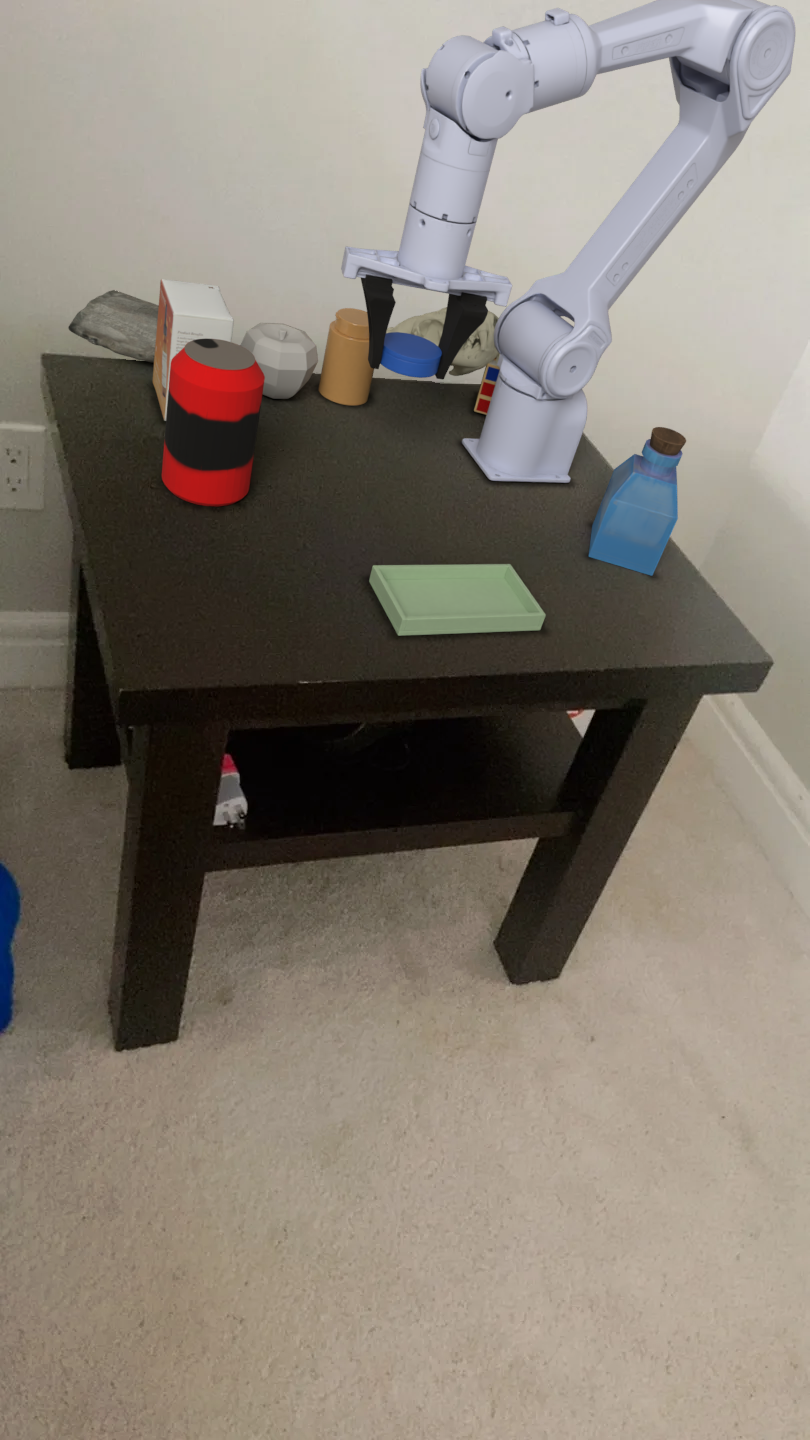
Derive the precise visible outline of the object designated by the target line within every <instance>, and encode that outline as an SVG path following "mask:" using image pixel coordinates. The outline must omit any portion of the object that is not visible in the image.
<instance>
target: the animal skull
mask: <svg viewBox="0 0 810 1440" xmlns="http://www.w3.org/2000/svg"><path fill="white" fill-rule="evenodd" d="M446 310H447V306H446V307H443V308H440V309H439V310H436V311H431V312H427V313H423V314H421V315H414V316H411V317H408V318H406V319H404V320H402V321H401V322H398V323H397V324H396V325H395V326H390V327H388V328H387V331H386V333H391V332H401V333H408V334H413V335H416V336H420V337H422V338H425V339H427V340H429V341H431V342H433V343H434V344H436V345H437V346H438V345H439V342H440V338H441V335H442V331H443V327H444V322H445V316H446ZM498 319H499V316H497V315H496V314H495V313H494V312H492V311H490V310H488V313H487V316H486V319H485V321H484V322H483V323H482V324H481V325H480V326H479V327H478V328H477V329H476V330H475V331H474V332H473V334H472V335H471V336H470V337H469V338H468V339H467V341H466V342H465V343H464V345H463V346H462V347H461V349H460V350H459V352H458V353H457V355H456V357H455V358H454V360H453V362H452V363H451V365H450V367H452V369H451V370H448V374H449V375H450V376H453V377H459V376H464V375H469V374H472V373H473V372H476V371H479V370H482V369H485V367H486V366H487V364H489V363H490V362H492V361H493V360H494V359H495V358H496V363H498V360H499V356H500V354H499V353H498V351H497V349H496V348H495V345H494V329H495V326H496V323H497V321H498Z"/></svg>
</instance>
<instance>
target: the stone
mask: <svg viewBox="0 0 810 1440" xmlns="http://www.w3.org/2000/svg"><path fill="white" fill-rule="evenodd" d="M118 291H119V290H116V291H115V289H112V290H108V291H106V292H105V293H103V294H102V295H98V296H96V297H95V298H92V299H91V300H89V302H87V304H86V305H85V307H84V308H83V309H81V310H80V311H78V312H77V313H76V315H74V318H73V319H72V320H71V323H70V324H69V325H68V327H67V329H68V330H69V331H70V332H71V333H72V334H74V335H76V336H78V337H80V338H82V339H84V340H85V341H87V342H89V344H92V345H94V346H99V347H102V348H104V349H106V350H109V351H112V352H113V353H114V354H118V355H120V356H124V357H127V358H130V359H131V358H132V359H134V360H137V361H142V362H146V363H150V364H151V363H152V364H154V357H155V345H156V332H157V320H158V308H159V304H156V303H153V302H150V301H147V300H144V299H141V298H138V297H136V296H133V295H131V294H127V293H124V292H122V291H119V292H118Z"/></svg>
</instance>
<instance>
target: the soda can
mask: <svg viewBox="0 0 810 1440" xmlns="http://www.w3.org/2000/svg"><path fill="white" fill-rule="evenodd" d="M240 345H241V344H237V343H235V342H232V341H231V342H228V341H224V340H219V339H197V340H193V341H190V342H188V343H187V344H186V345H185V347H184V348H183V349H182V350H181V351H180V352H179V353H177V354H176V355H175V356H174V357H173V359H172V360H171V366H170V378H169V390H168V403H167V415H166V421H165V426H164V427H165V428H164V429H165V430H164V442H163V454H162V463H161V464H162V466H161V480H162V482H163V484H164V486H165V487H166V488H167V490H168V491H170V493H171V494H173V495H174V496H175V497H177V498H179V499H180V500H183V501H184V502H188V503H189V504H190V503H191V504H194V505H197V506H203V507H213V508H214V507H225V506H230V505H233V504H236V503H238V502H240V501H241V500H242V499H243V498H245V497H246V496H247V495H248V493H249V491H250V486H251V485H250V484H251V478H252V471H253V465H254V464H253V463H254V456H255V449H256V444H257V443H256V442H257V435H258V429H259V422H260V415H261V408H262V402H263V387H264V380H265V376H264V373H263V372H262V370H261V368H260V367H259V365H258V363H257V362H256V360H255V357H254V355H253V354H252V353H251V352H250V351H249V350H247V349H246V348H244V347H242V346H240Z"/></svg>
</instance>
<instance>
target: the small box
mask: <svg viewBox="0 0 810 1440" xmlns="http://www.w3.org/2000/svg"><path fill="white" fill-rule="evenodd" d="M158 305H159V308H158V320H157V332H156V345H155V357H154V363H153V371H152V384H153V387H154V390H155V393H156V397H157V400H158V403H159V407H160V408H159V409H160V411H161V415H162V418H163V421H164V422H166V415H167V403H168V390H169V378H170V366H171V360H172V359H173V357H174V356H175V355H176V354H177V353H179V352H180V351H181V350H182V349H183V348H184V347H185V345H186V344H187V343H188V342H190V341H193V340H197V339H219V340H224V341H228V342H232V340H233V332H234V326H235V325H234V324H235V320H234V318H233V316H232V314H231V312H230V310H229V308H228V306H227V304H226V302H225V299H224V297H223V295H222V292H221V289H220V286H219V285H214V284H207V283H200V282H191V281H183V280H174V279H166V278H161V279H160V282H159V296H158Z"/></svg>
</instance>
